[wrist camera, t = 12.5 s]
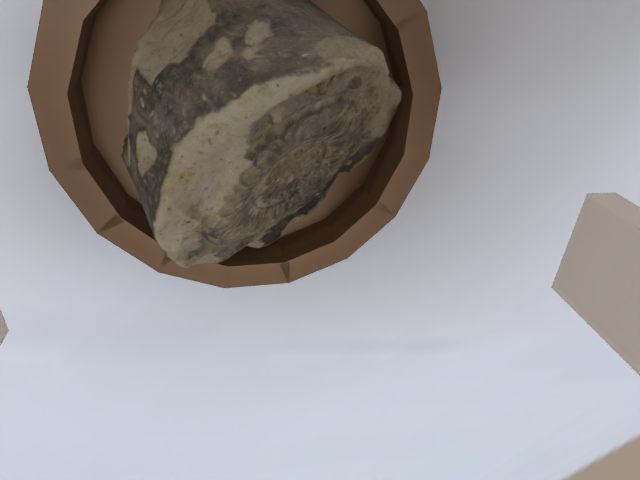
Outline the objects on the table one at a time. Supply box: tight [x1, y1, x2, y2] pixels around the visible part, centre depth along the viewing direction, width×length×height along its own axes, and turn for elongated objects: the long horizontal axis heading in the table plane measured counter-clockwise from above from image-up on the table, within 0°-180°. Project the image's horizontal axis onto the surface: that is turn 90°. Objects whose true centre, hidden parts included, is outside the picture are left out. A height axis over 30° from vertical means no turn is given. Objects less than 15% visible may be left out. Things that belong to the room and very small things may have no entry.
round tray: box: [27, 0, 441, 288], centre depth 20 cm, size 15×15×3 cm
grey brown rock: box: [121, 0, 402, 268], centre depth 17 cm, size 11×9×10 cm
